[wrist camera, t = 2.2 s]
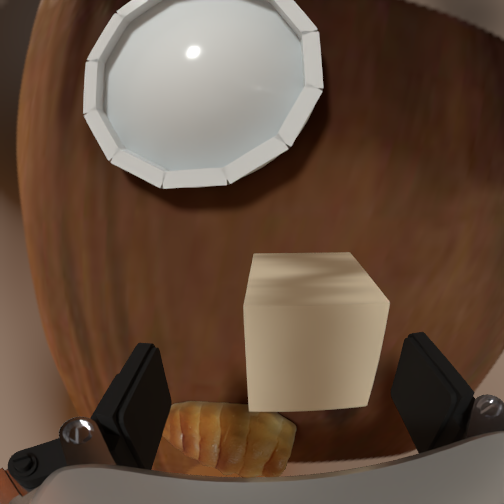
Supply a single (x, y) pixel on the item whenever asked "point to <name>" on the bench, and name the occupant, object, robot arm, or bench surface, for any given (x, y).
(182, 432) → the pastry
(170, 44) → the dish
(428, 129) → the bench surface
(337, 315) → the maple block
